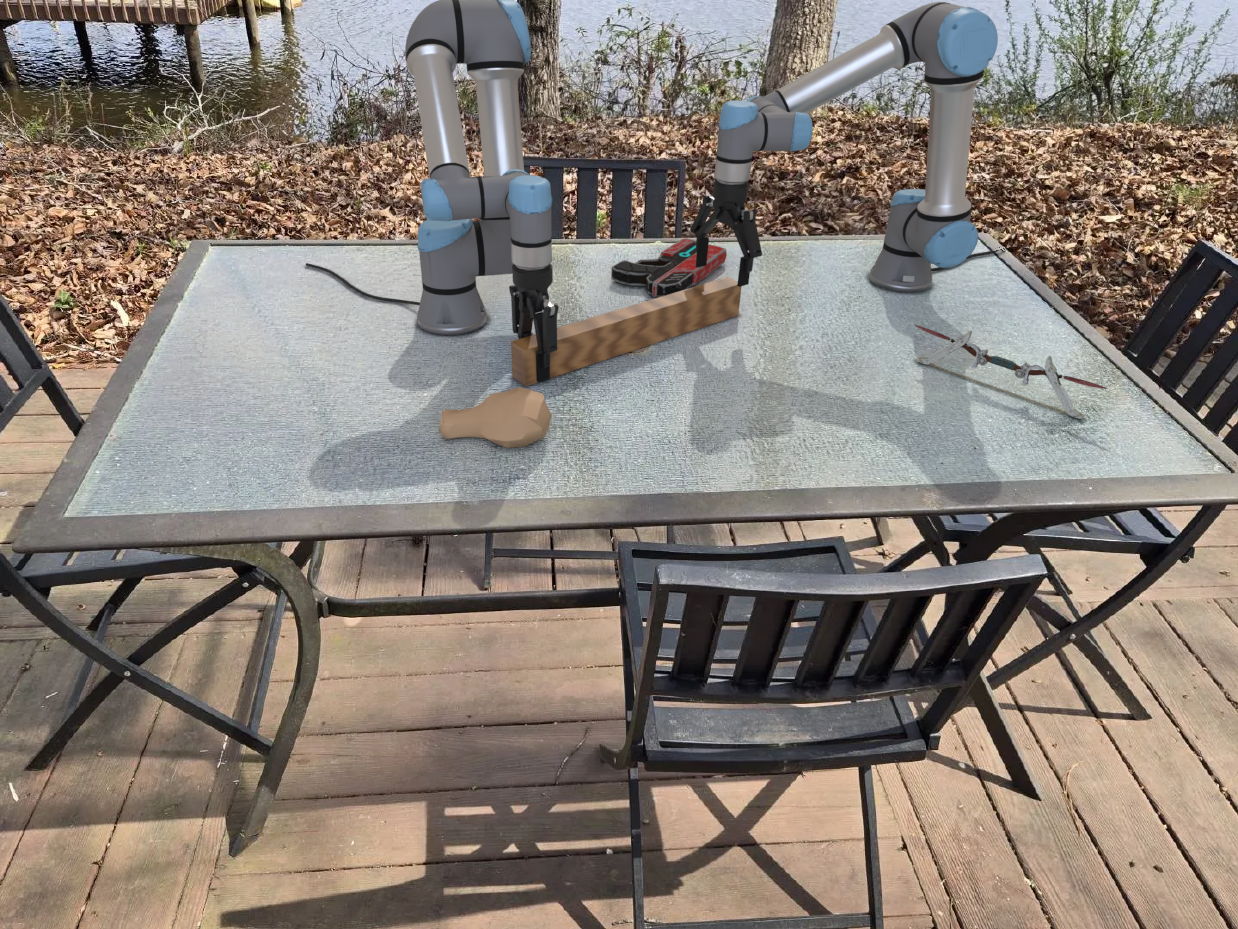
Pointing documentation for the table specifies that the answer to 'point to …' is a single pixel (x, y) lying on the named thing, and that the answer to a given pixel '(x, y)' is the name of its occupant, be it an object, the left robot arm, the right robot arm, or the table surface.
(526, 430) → the squash
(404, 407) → the table surface
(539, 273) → the left robot arm
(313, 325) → the table surface
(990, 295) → the table surface
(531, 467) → the table surface
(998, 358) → the bow
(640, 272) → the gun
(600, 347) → the post
